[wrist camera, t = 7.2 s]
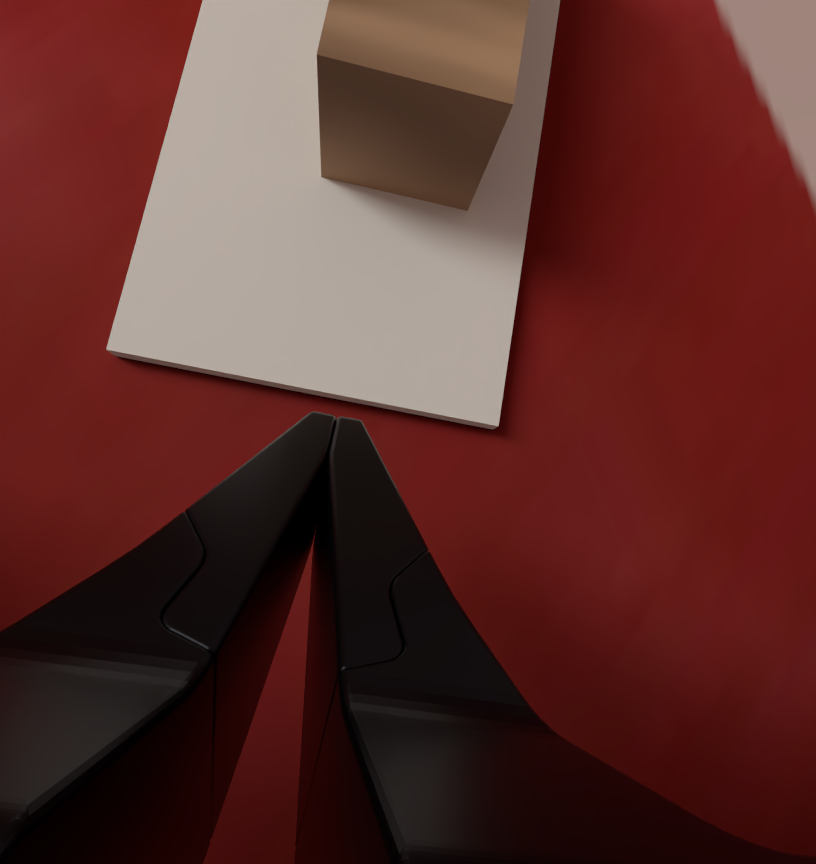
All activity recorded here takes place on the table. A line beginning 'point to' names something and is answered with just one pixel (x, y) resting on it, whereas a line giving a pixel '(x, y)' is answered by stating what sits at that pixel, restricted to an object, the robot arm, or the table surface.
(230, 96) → the mat
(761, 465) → the table surface
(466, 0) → the walnut block
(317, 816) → the robot arm
